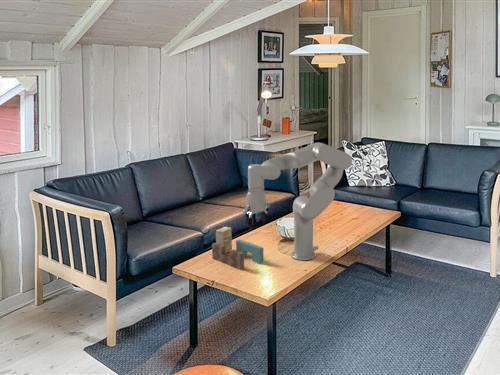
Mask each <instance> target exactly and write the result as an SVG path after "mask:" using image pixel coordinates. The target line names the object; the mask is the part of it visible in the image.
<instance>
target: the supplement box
mask: <svg viewBox="0 0 500 375" xmlns="http://www.w3.org/2000/svg"><path fill="white" fill-rule="evenodd" d="M232 234H233V233H232V227H229V226H223V227H222V228H219V229H216V230H215V241H216V242H215V243H218V244H221V245H224V246H225V254H228V253H230V250H233V244H232V241H233V240H232V238H233V236H232Z"/></svg>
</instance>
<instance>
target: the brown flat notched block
mask: <svg viewBox="0 0 500 375" xmlns="http://www.w3.org/2000/svg"><path fill="white" fill-rule="evenodd" d="M211 250H212V251H211V254H212V255H211V256H212V259H213V260H216V261H218V262H220V263H223V264H225V265H228V266H230V267H232V268H235V269H237V270H240V271H241V270H244V269H245V258H244V253H242V252H240V251H237V250H236V249H234V248H232V250H230V252H229V254H228V253H226V254H225V246H224V245H221V244H218V243H216V242H214V243H212V244H211Z"/></svg>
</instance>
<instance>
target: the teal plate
mask: <svg viewBox="0 0 500 375" xmlns="http://www.w3.org/2000/svg"><path fill="white" fill-rule="evenodd" d="M235 243H236V244H235V247H236V248H235V250H237V251H240V252H242V253H244V259H245V258H247V257H248V253H249V254H251V261H252V262H254V263H257V264H259V265H261V264H264V246H259V245H257V244H254V243H252V242H248V241H246V240H243V239H236V241H235Z"/></svg>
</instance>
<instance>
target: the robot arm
mask: <svg viewBox="0 0 500 375" xmlns="http://www.w3.org/2000/svg"><path fill="white" fill-rule="evenodd" d="M317 161H320V162H322V163H324V164H326V165H327V168H326V170H325V171H324V173H323V174H322V175H321V176H320V177H319V178H318V179H317V180H316V181H314V182H313V184H312V185H311V186H310V188H309V195H310V197H308V196H305V195H300V196H297V197H296V198H295V199H294V200H293V203H292V214H293V226H294V227H293V230H294V231H293V234H294V236H293V243H294V244H293V249H294V250H293V251H292V252H291V255H290V256H291V258H292V259H294V260H297V261H310V260H313V259H315V258H316V256H317V254H316V253H315V251H316V250H319V246H318V245H314V219H316V218H317V217H319V216H320V215H321V214H322V213H323V212H325V210H326V209H327V208H328V207H329V206H330V205H331V204H332V203H333V201H334V199H335V197H336V196H335V195H336V191H335V189H334V188H335V187H336V185H338V183H339V182H340V180H341V179H342V177H343V171H344V170H348V169H349V168H350V167H351V166H352V164H353V158H352V156H351V154H349V153H347V152H345V151H342V150H340V149H337V148H335V147H332V146H331V145H329V144H326V143H324V142H314V143H312V144H309V145H306V146H305V147H302V148H300V149H297V150H294V151H291V152H287V153H285V154H280V155H277V156H275V157H271V158H270V159H267V160H265V161H263V162H262V163H261V164H260V163H259V164H258V163H256V164H255V163H253V164H252V163H251V164H249V165H248V166H247V184H248V185H247V186H248V187H247V188H248V190H247V193H246V197H245V207H244V208H243V209H242V210H241V211H242V213H243V216H244V217H245V218H246V225H247V226H248V227H249V226H250V227H252V226H253V218H252V216H253V215H254V214H258V213H260V218H261V219H260V220H261V222H265V223H266V222H267V214H268V211H269V210H270V207H271V205H270V203H268V202H267V198H266V193H265V187H266V186H265V184H264V183H265V180H271V181H272V180H276V179H278V178H279V177H280V176H281V174H282V173H281V171H282V170H286V169H287V170H288V169H301V168H303V167H305V166H308V165H310V164H313V163H314V162H317Z"/></svg>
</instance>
